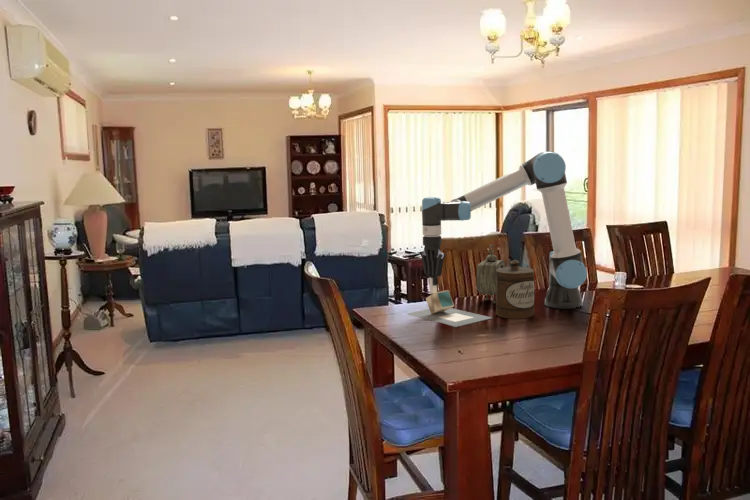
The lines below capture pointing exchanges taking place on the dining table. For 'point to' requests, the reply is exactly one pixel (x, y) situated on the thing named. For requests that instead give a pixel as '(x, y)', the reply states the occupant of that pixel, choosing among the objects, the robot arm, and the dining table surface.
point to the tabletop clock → (488, 274)
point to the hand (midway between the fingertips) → (433, 292)
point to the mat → (451, 317)
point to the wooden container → (515, 291)
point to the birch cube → (440, 302)
